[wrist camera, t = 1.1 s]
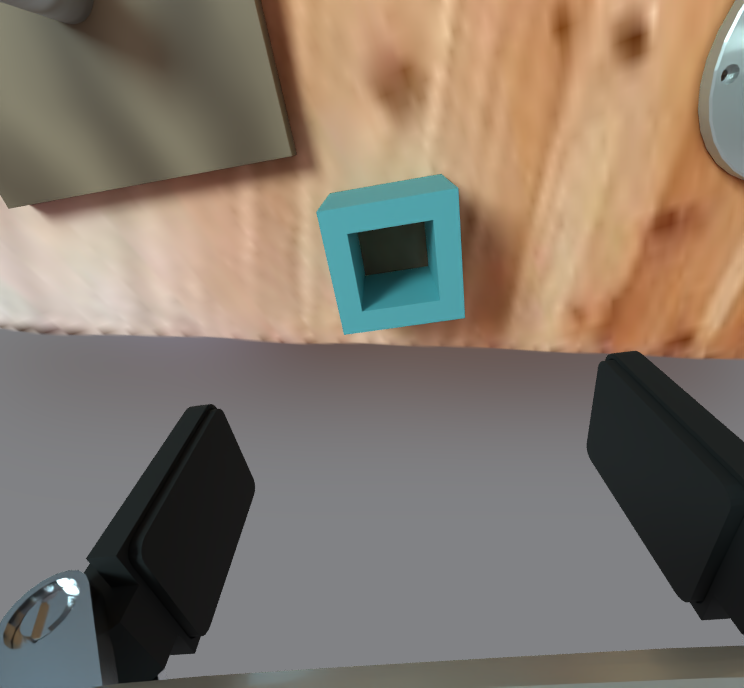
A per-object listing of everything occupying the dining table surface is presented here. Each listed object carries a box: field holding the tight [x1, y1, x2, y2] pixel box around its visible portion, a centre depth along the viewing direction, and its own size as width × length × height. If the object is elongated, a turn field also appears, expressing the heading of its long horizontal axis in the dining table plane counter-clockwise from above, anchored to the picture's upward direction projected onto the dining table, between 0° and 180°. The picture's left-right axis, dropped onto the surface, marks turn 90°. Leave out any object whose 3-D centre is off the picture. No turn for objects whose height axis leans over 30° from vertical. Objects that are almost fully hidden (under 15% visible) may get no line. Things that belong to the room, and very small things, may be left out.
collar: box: [316, 174, 465, 335], centre depth 23 cm, size 7×7×6 cm
